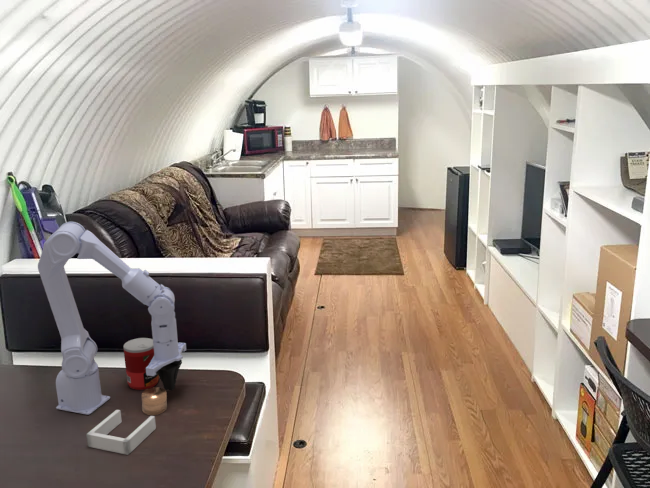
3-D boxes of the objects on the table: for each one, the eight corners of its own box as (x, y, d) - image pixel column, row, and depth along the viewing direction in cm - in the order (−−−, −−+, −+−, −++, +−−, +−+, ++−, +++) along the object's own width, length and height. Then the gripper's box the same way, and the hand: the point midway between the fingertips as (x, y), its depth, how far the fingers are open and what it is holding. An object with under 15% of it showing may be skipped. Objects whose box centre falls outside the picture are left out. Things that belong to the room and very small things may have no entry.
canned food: (150, 391, 142) (146, 351, 139) (121, 389, 144) (116, 349, 141) (164, 377, 149) (161, 338, 147) (137, 374, 151) (132, 336, 148)
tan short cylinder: (139, 414, 132) (138, 399, 131) (146, 401, 137) (146, 386, 136) (163, 415, 132) (162, 400, 131) (169, 402, 137) (169, 387, 136)
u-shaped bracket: (87, 446, 120) (86, 434, 119) (118, 421, 129) (116, 409, 129) (128, 454, 117) (126, 442, 117) (155, 428, 126) (154, 416, 126)
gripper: (162, 353, 129) (167, 406, 132) (195, 328, 142) (198, 377, 146) (136, 349, 131) (141, 401, 134) (170, 325, 144) (174, 373, 148)
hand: (169, 388), depth 140 cm, fingers closed
